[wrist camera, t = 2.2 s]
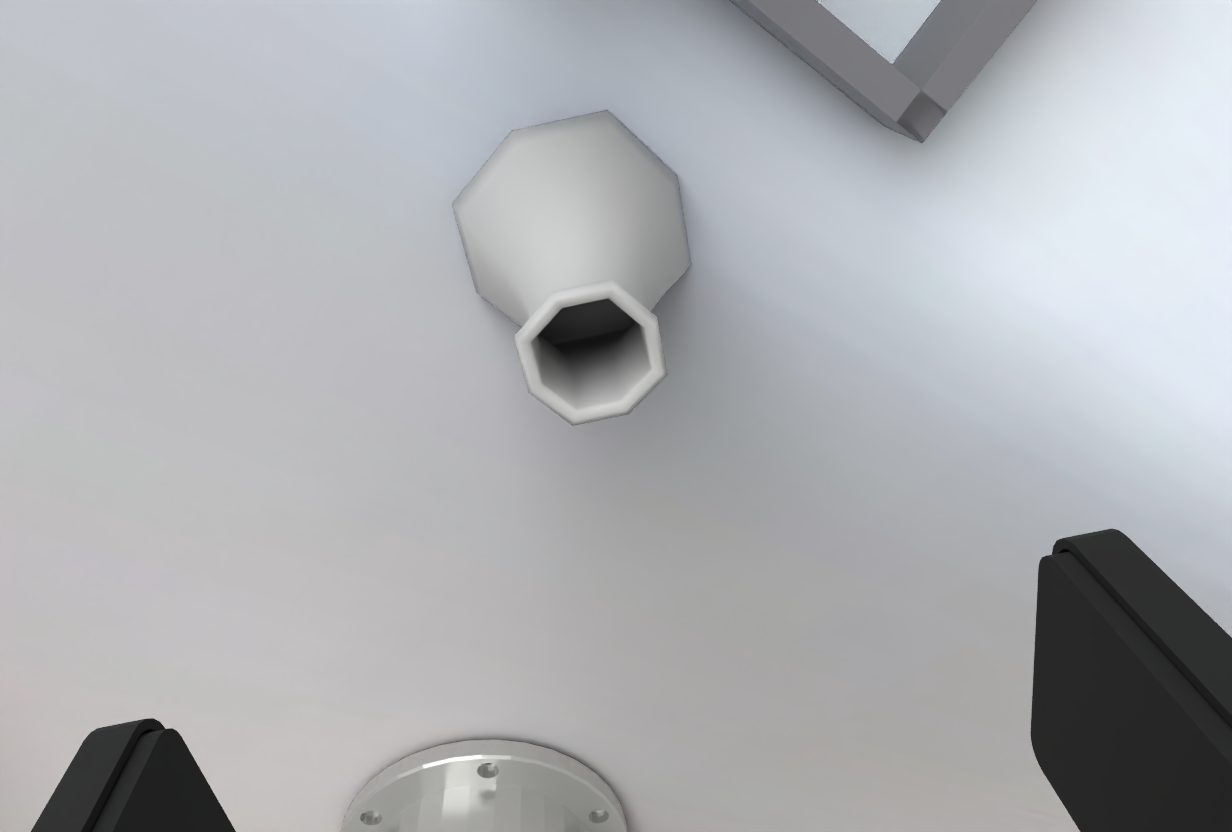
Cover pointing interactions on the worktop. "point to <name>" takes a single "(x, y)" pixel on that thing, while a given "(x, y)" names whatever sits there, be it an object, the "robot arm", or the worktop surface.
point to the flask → (578, 258)
